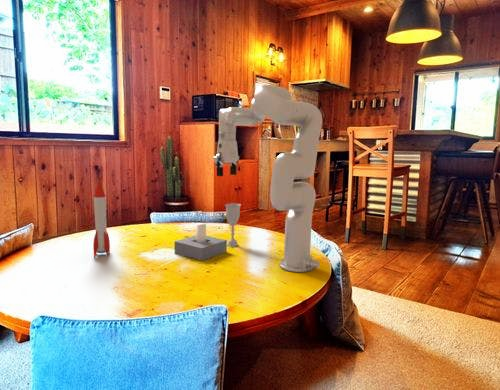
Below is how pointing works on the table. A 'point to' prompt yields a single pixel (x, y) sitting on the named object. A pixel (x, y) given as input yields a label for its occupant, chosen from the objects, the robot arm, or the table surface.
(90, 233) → the table surface
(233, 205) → the chalice
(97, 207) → the toy rocket
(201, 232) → the peg
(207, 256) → the socket block
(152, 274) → the table surface
